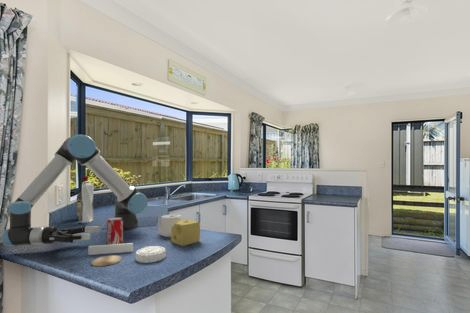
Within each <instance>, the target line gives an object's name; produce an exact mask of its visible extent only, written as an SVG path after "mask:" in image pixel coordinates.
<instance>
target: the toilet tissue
mask: <svg viewBox="0 0 470 313" xmlns="http://www.w3.org/2000/svg"><path fill="white" fill-rule="evenodd" d="M181 220H182V215H181V214H177V213H172V214H171V213H170V214H164V215H162V216H159V215H158V234H159V235H161V236H163V237H165V238H166V237H169V238H171V235H172V232H171V229H172V226H174V224H175V223H176V222H177V221H181Z"/></svg>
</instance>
